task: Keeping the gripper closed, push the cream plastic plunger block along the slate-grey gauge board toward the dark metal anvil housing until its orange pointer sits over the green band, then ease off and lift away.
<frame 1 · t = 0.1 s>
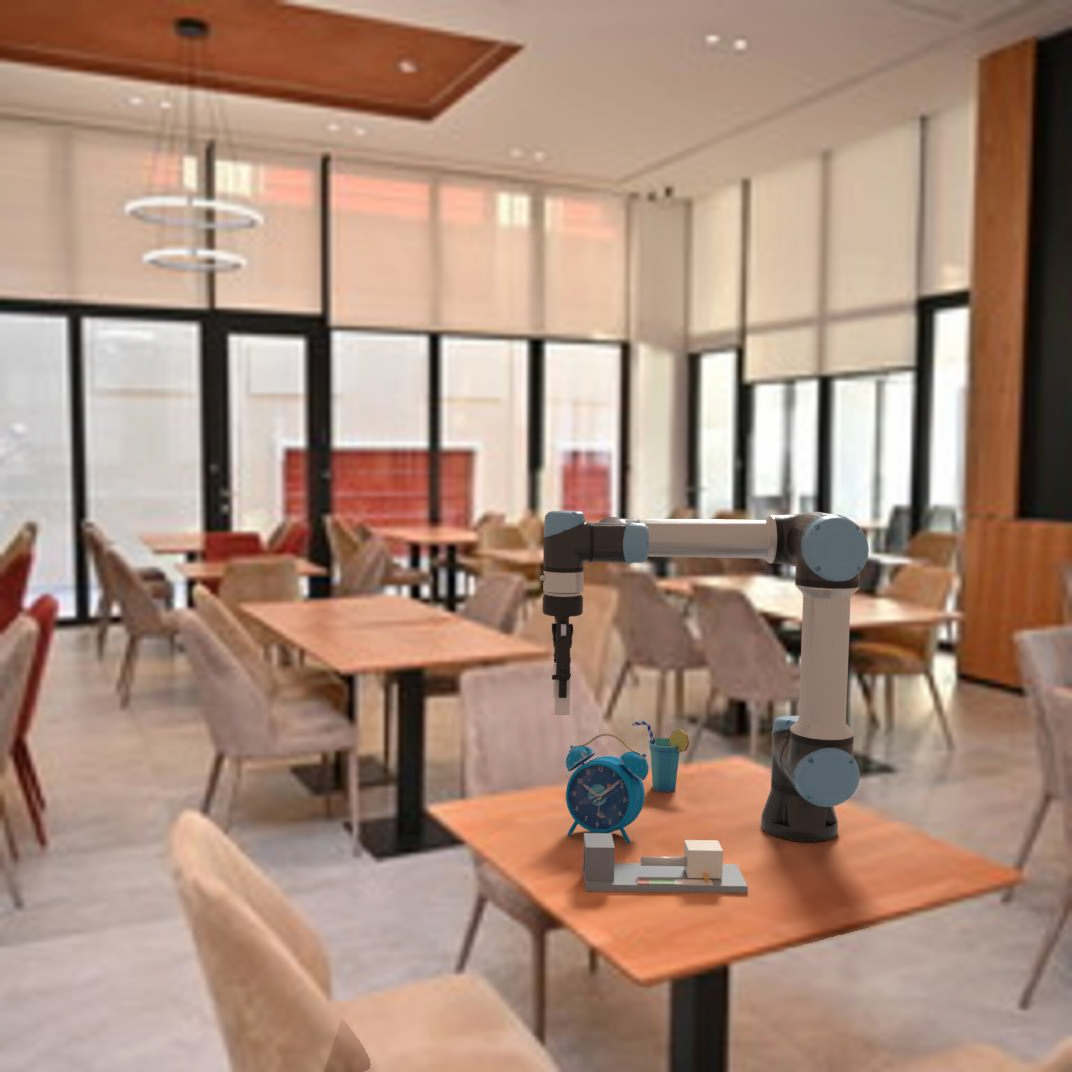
hand: (561, 706, 200), 28 cm above the table, fingers open, 13 cm apart
plunger: (681, 860, 188), point 4 cm above the table, slide at 0.0 cm
cup: (660, 788, 242), on the table
alarm clock: (603, 836, 211), on the table
gauge board: (663, 880, 189), on the table
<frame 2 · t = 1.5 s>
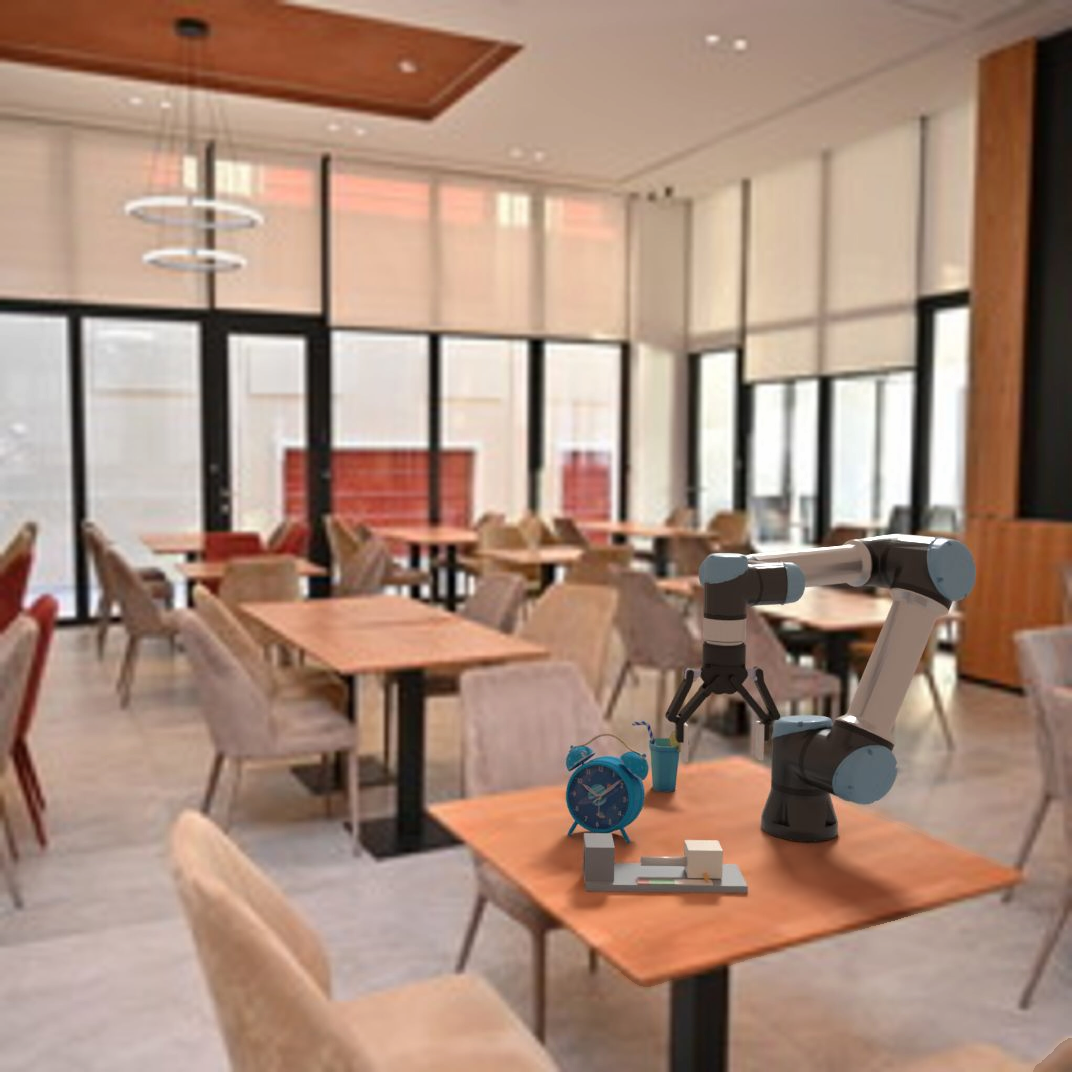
hand: (721, 759, 189), 21 cm above the table, fingers open, 13 cm apart
nothing on the table moved.
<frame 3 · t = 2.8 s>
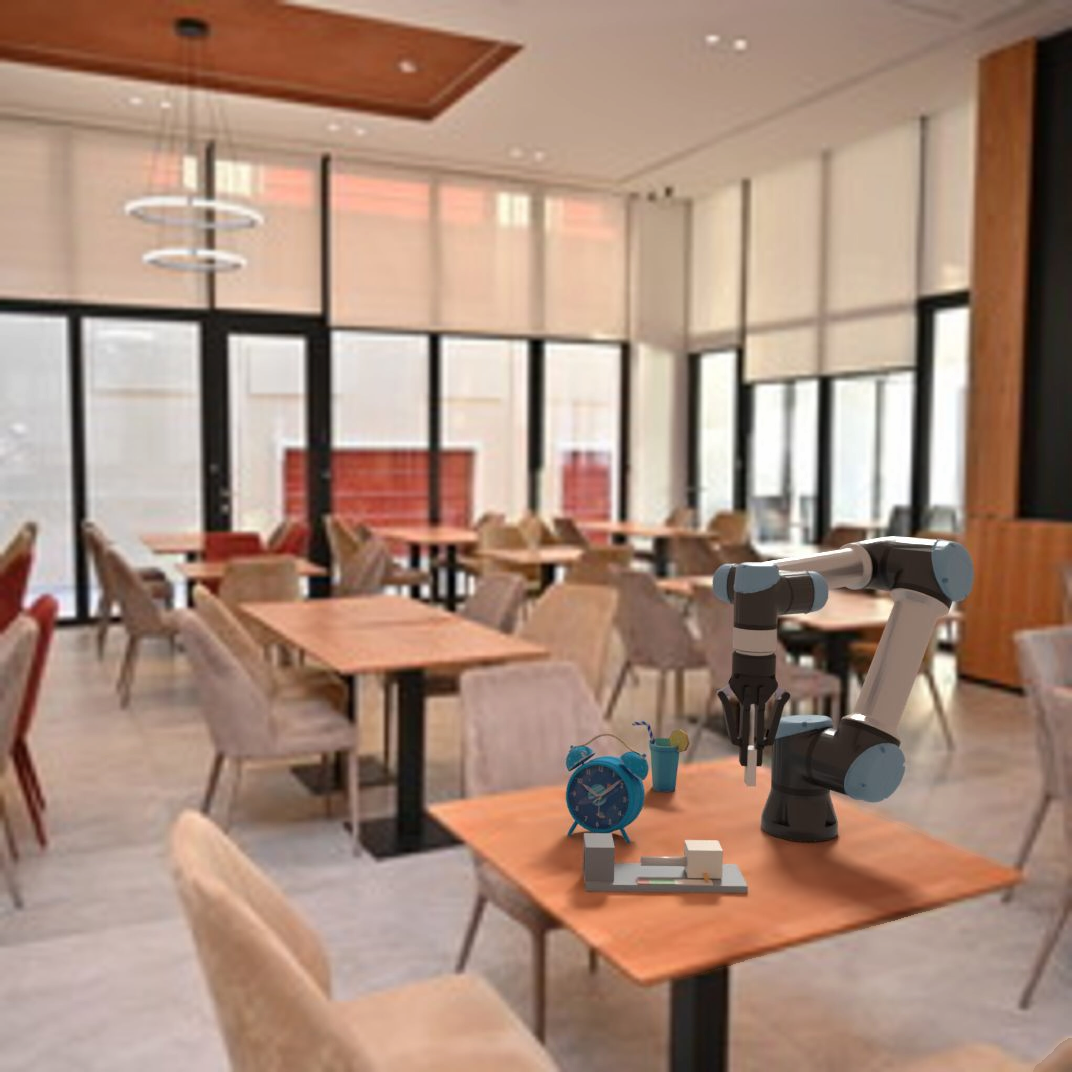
hand: (749, 783, 188), 18 cm above the table, fingers closed
nothing on the table moved.
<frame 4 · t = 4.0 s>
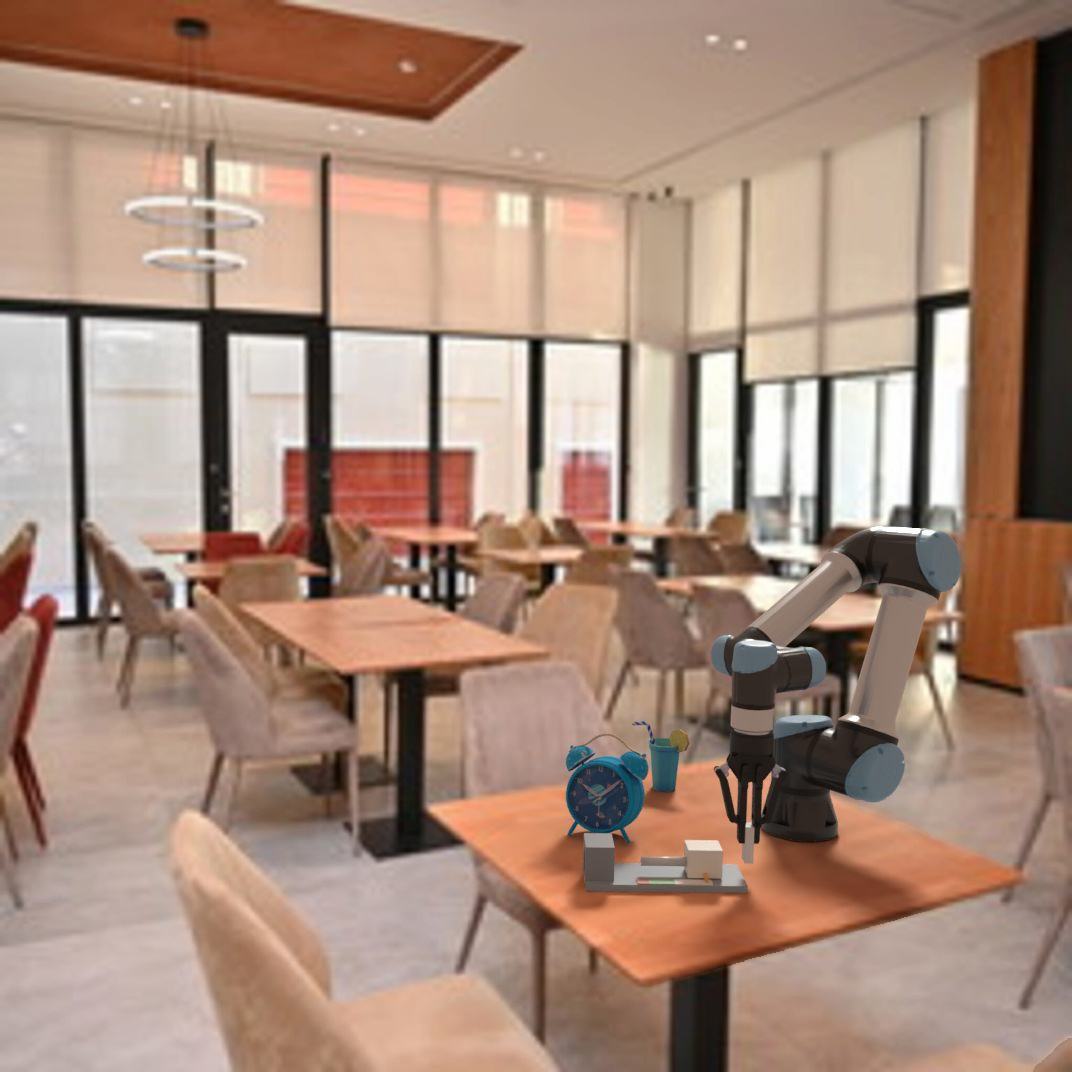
hand: (747, 860, 189), 4 cm above the table, fingers closed
nothing on the table moved.
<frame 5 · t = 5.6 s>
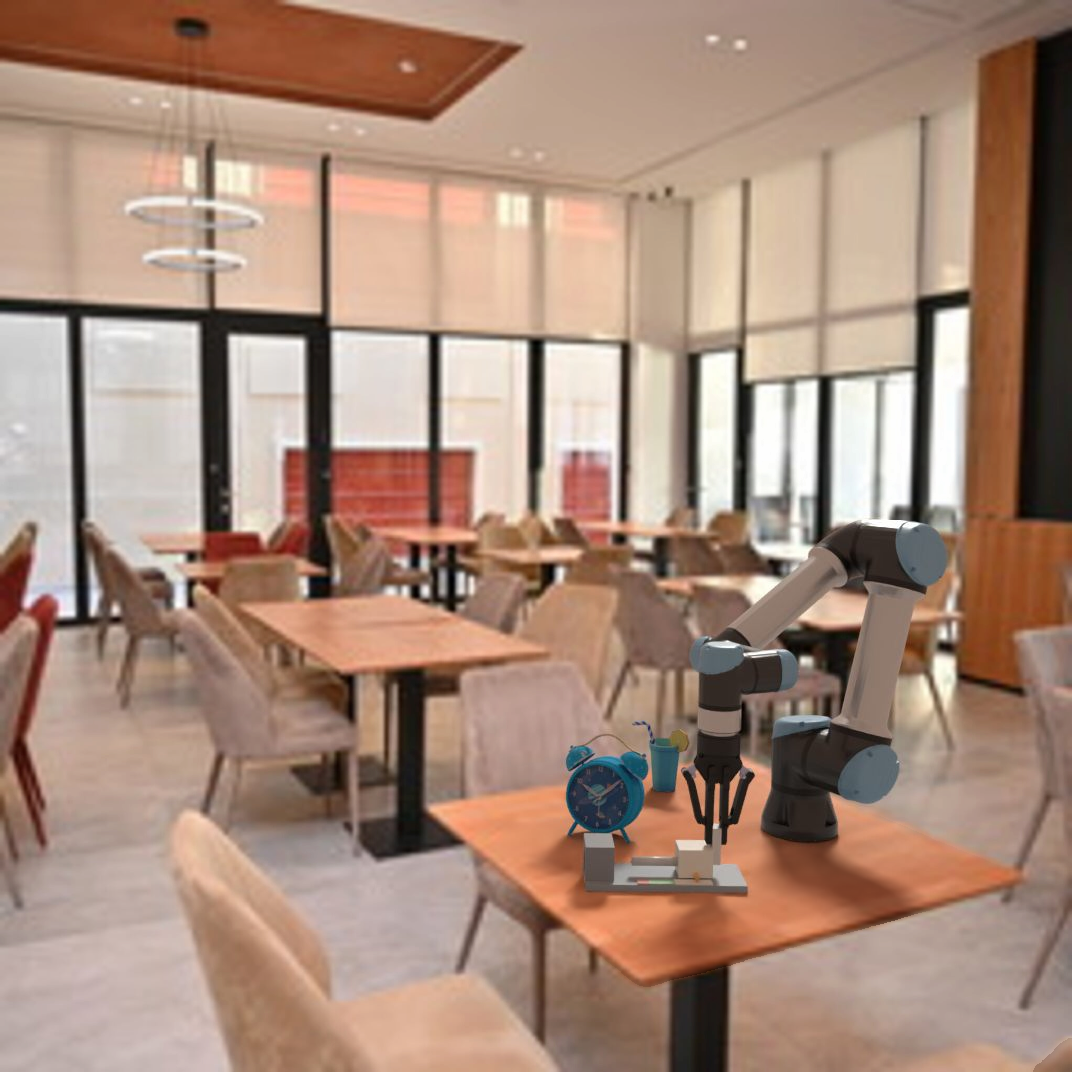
hand: (714, 861, 189), 4 cm above the table, fingers closed
plunger: (672, 860, 188), point 4 cm above the table, slide at 1.6 cm, touching gripper
everything else where it was.
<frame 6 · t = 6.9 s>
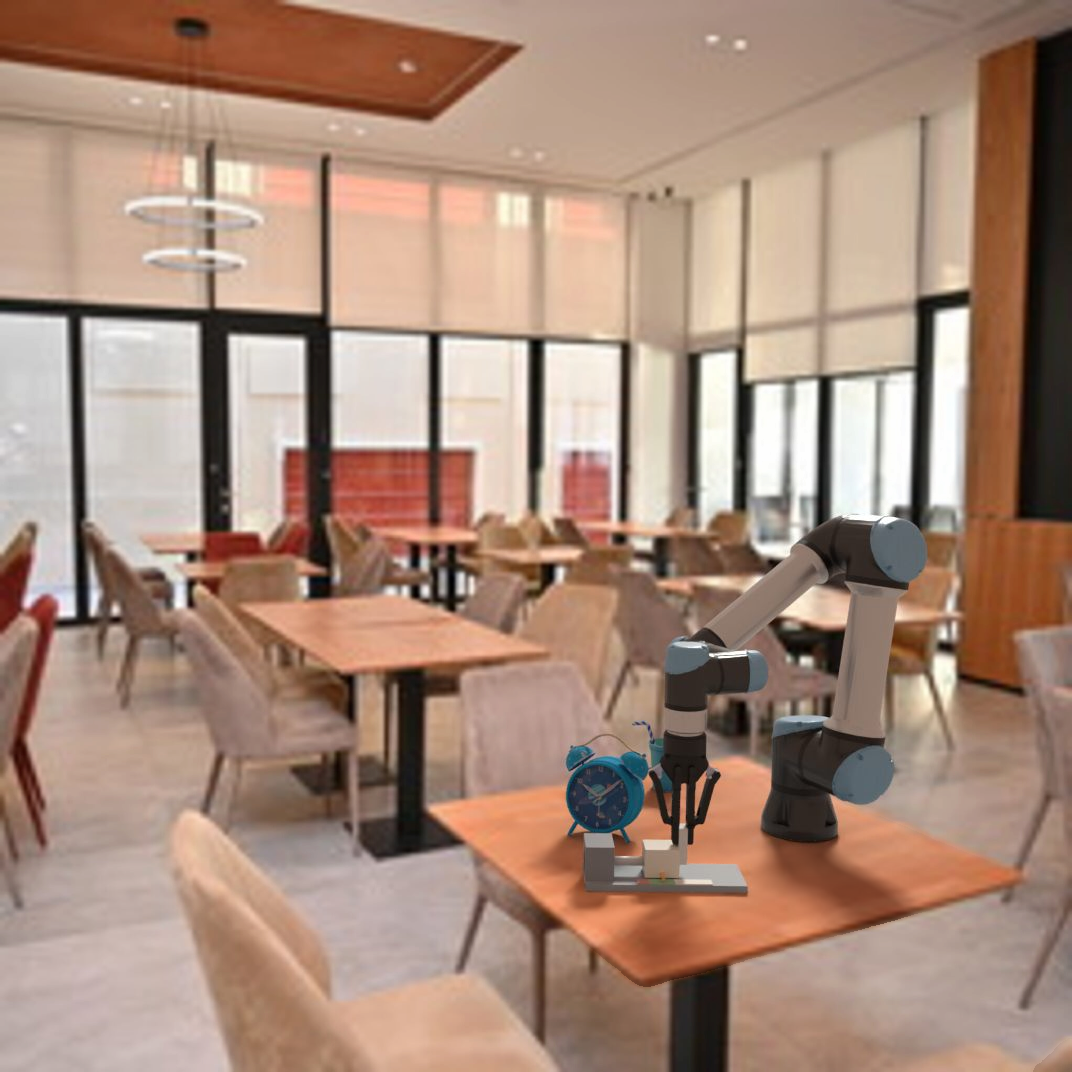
hand: (681, 861, 189), 3 cm above the table, fingers closed
plunger: (638, 860, 187), point 4 cm above the table, slide at 7.5 cm, touching gripper
everything else where it was.
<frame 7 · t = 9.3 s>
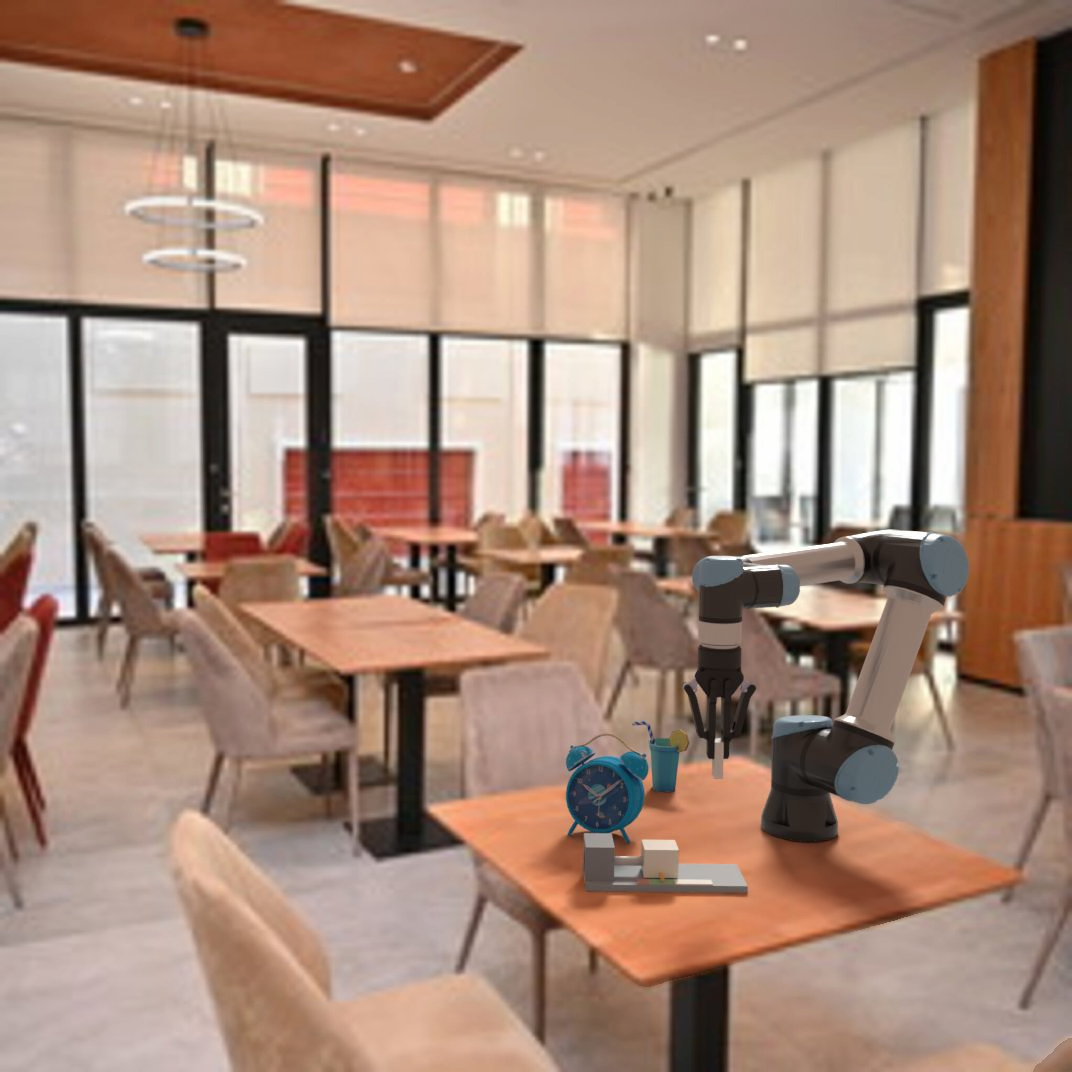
hand: (717, 776, 188), 19 cm above the table, fingers closed
plunger: (637, 860, 187), point 4 cm above the table, slide at 7.7 cm
everything else where it was.
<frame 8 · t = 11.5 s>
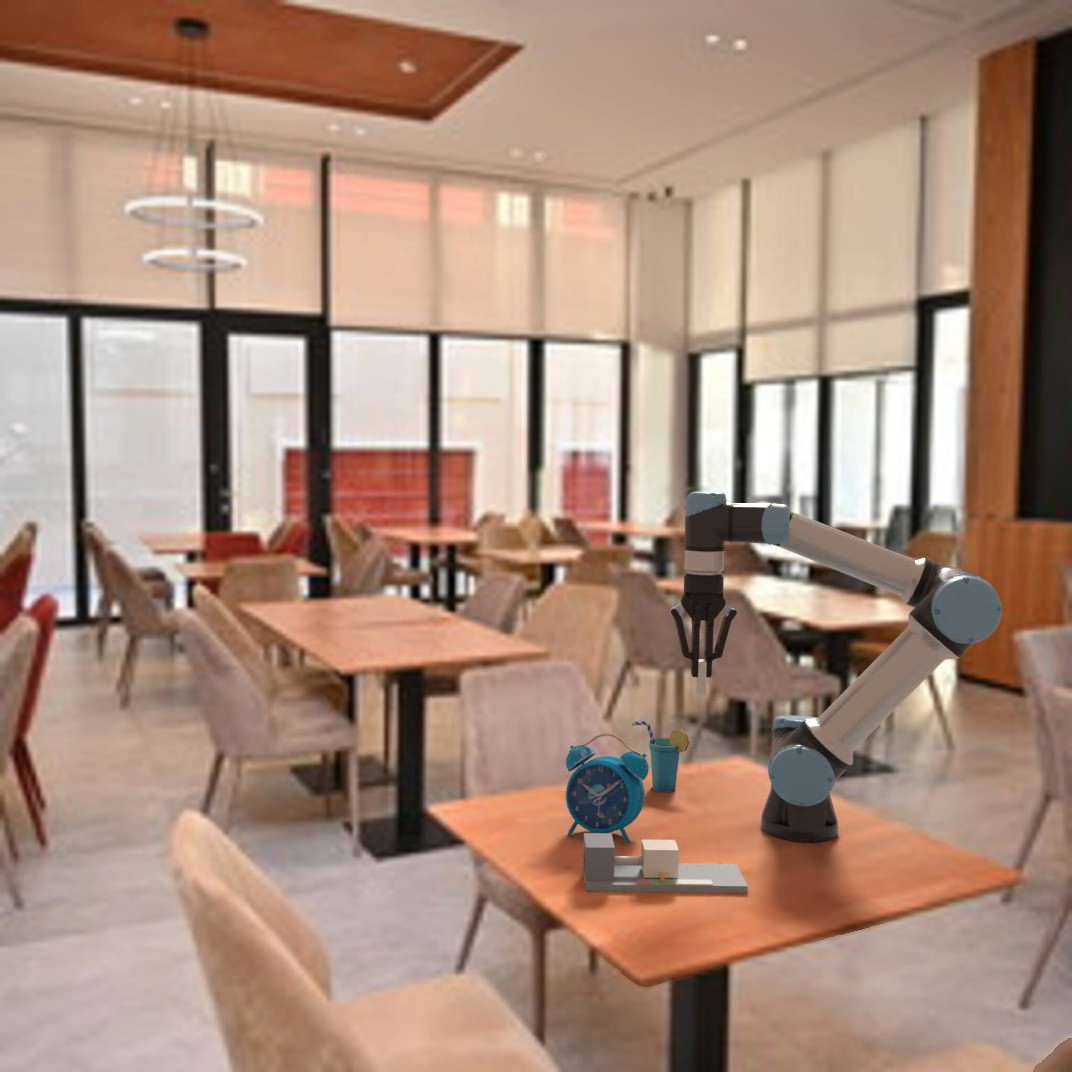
hand: (700, 693, 206), 29 cm above the table, fingers closed
nothing on the table moved.
at the end: plunger slide at 7.7 cm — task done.
